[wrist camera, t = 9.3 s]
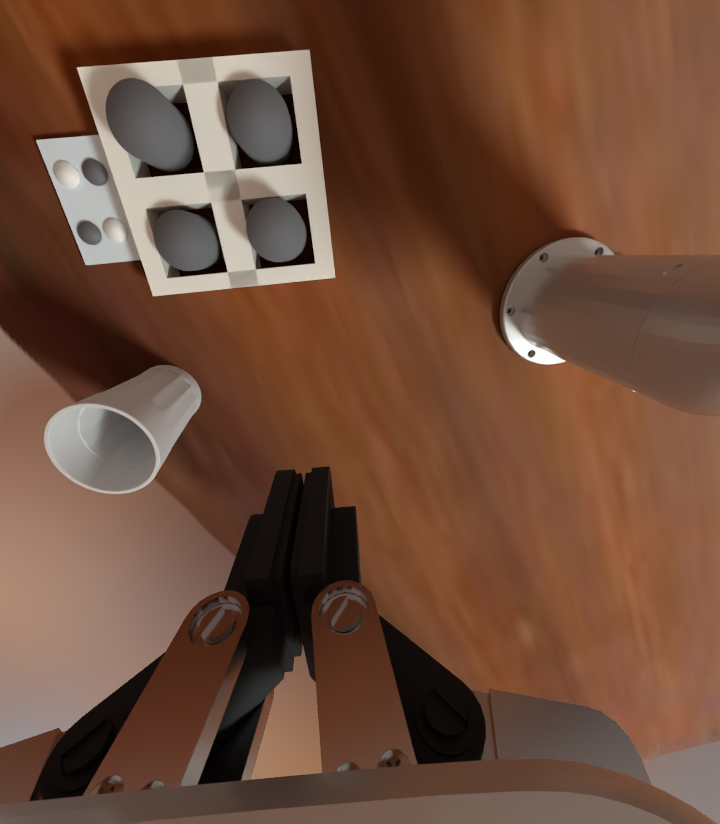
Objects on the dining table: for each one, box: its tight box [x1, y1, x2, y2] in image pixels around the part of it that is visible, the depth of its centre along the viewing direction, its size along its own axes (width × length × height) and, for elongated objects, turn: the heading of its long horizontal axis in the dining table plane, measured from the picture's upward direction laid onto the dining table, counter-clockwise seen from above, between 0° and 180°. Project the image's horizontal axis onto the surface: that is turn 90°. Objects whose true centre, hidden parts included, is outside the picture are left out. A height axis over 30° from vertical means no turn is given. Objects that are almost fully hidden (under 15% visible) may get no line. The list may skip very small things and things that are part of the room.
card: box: [36, 135, 141, 265], centre depth 29 cm, size 5×9×1 cm, turn 5°
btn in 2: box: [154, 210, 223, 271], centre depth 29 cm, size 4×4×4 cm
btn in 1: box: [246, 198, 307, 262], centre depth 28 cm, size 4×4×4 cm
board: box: [77, 50, 335, 296], centre depth 28 cm, size 16×15×3 cm
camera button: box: [227, 79, 294, 167], centre depth 26 cm, size 4×4×4 cm
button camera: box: [105, 78, 195, 172], centre depth 24 cm, size 4×4×4 cm
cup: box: [44, 365, 201, 494], centre depth 31 cm, size 8×8×12 cm
